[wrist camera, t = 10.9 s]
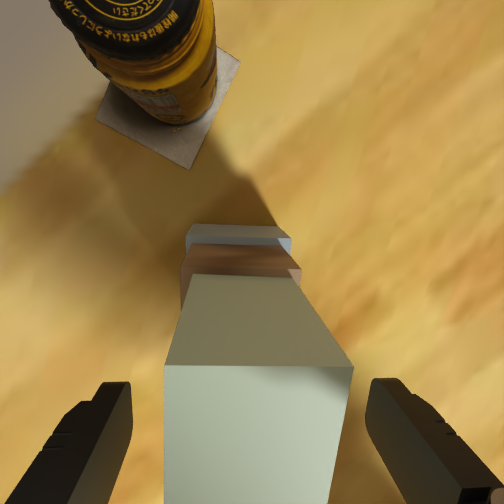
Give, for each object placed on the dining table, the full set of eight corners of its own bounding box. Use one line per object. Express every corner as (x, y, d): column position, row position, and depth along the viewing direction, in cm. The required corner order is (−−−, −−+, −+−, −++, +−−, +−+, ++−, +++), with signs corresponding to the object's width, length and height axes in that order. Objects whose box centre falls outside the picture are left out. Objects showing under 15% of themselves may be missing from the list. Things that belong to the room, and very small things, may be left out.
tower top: (281, 245, 19) (301, 269, 14) (275, 325, 21) (291, 371, 16) (191, 243, 19) (180, 266, 14) (191, 326, 20) (181, 373, 15)
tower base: (277, 225, 24) (291, 238, 19) (272, 302, 26) (283, 331, 21) (193, 223, 23) (185, 235, 18) (193, 302, 25) (186, 332, 20)
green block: (292, 277, 14) (353, 366, 8) (282, 363, 16) (326, 503, 9) (192, 273, 14) (164, 365, 7) (190, 362, 15) (163, 512, 8)
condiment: (240, 63, 20) (263, -84, 9) (189, 170, 22) (151, 163, 10) (144, 0, 19) (21, -275, 7) (96, 119, 20) (-67, 46, 9)
